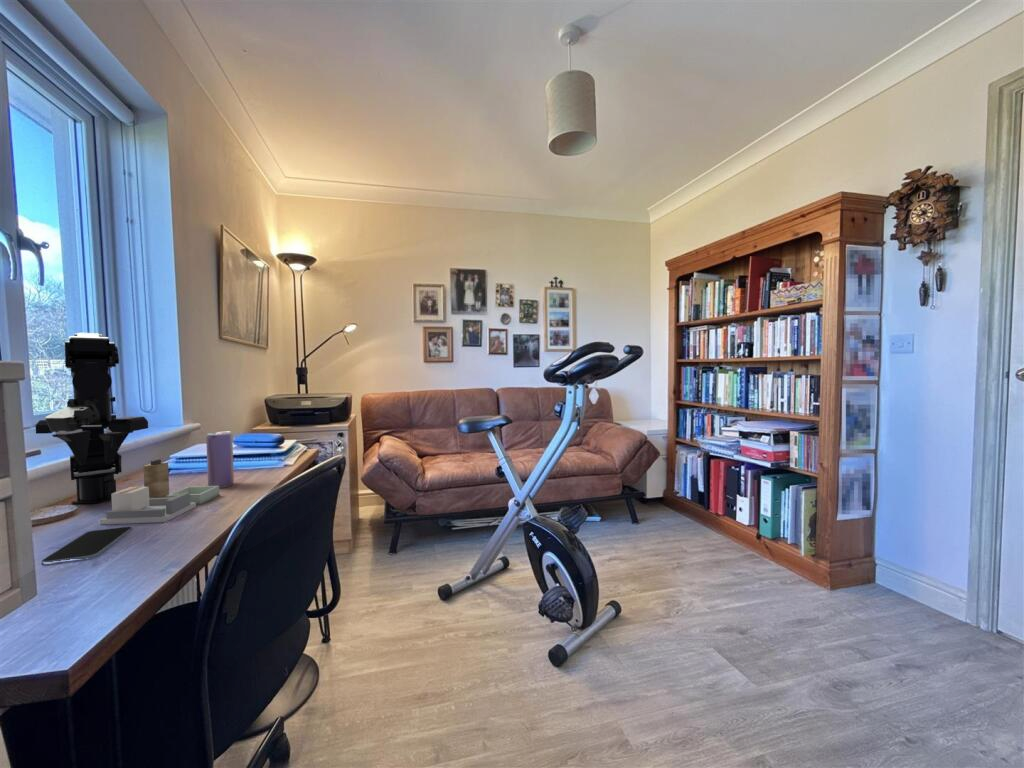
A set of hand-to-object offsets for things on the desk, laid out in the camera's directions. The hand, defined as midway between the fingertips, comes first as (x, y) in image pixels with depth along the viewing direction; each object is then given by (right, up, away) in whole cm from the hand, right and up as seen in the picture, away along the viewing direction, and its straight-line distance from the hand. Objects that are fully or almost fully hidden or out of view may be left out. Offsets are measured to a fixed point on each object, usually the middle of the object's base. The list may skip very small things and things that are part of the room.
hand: (95, 463), depth 93 cm
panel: (+11, -12, +2) cm, 16 cm away
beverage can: (+11, -11, +25) cm, 29 cm away
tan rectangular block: (+3, -12, +13) cm, 17 cm away
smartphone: (+13, -13, -14) cm, 24 cm away
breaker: (+7, -11, +1) cm, 13 cm away
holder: (+13, -12, +12) cm, 21 cm away
